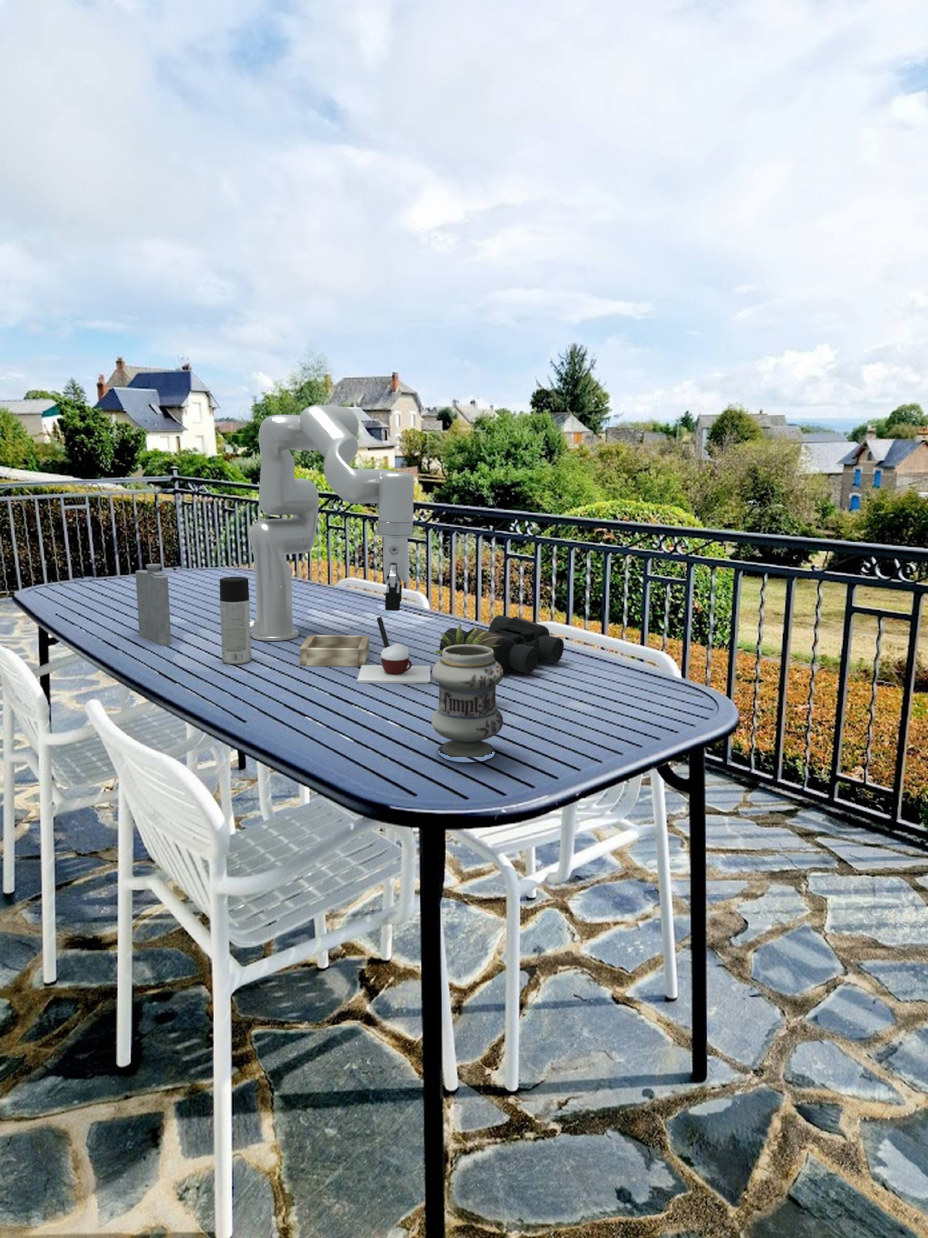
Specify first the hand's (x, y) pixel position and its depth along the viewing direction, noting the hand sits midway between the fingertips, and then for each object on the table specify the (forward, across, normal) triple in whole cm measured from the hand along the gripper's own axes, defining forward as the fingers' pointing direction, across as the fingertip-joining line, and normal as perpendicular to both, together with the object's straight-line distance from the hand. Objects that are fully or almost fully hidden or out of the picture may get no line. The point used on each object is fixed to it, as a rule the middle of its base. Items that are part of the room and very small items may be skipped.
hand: (393, 605), depth 178 cm
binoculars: (+16, +11, -28) cm, 34 cm away
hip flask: (+18, +32, +63) cm, 73 cm away
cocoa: (+16, 0, -1) cm, 16 cm away
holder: (+17, +14, +14) cm, 26 cm away
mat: (+16, -1, -1) cm, 16 cm away
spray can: (+17, +10, +37) cm, 42 cm away
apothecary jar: (+15, -49, -15) cm, 53 cm away
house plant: (+15, -22, -15) cm, 31 cm away
